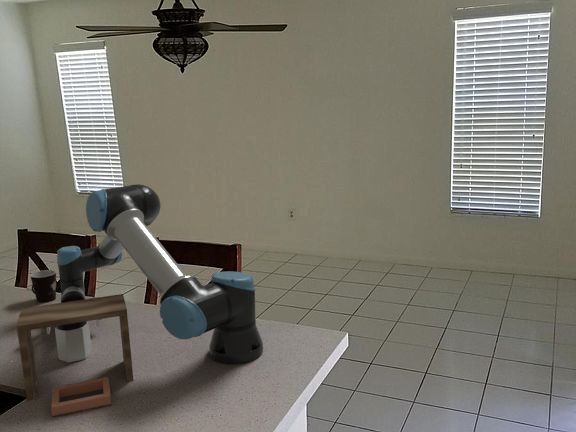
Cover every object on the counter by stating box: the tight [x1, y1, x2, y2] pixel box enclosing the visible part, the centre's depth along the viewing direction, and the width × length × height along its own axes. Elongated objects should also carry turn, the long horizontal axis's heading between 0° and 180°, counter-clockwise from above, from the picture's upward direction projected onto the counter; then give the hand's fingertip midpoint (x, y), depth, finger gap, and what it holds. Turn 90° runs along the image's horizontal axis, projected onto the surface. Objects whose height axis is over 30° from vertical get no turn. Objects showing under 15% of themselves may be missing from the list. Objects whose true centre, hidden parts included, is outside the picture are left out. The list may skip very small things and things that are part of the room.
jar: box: [54, 321, 93, 363], centre depth 154 cm, size 9×8×12 cm
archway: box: [16, 293, 134, 402], centre depth 140 cm, size 12×25×20 cm, turn 111°
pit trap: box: [50, 376, 112, 418], centre depth 132 cm, size 10×13×2 cm
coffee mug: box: [29, 269, 57, 304], centre depth 198 cm, size 12×9×10 cm
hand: (73, 325), depth 159 cm, fingers open, 13 cm apart
